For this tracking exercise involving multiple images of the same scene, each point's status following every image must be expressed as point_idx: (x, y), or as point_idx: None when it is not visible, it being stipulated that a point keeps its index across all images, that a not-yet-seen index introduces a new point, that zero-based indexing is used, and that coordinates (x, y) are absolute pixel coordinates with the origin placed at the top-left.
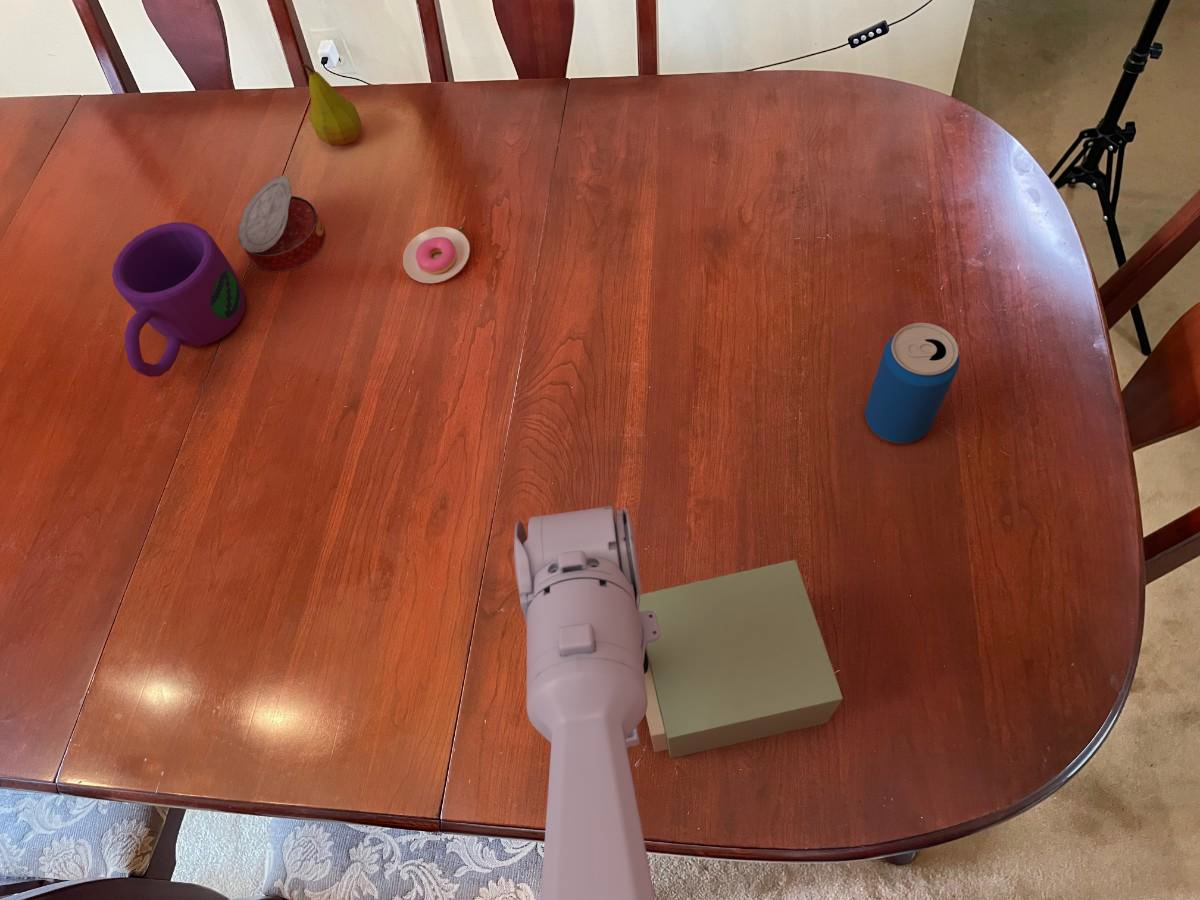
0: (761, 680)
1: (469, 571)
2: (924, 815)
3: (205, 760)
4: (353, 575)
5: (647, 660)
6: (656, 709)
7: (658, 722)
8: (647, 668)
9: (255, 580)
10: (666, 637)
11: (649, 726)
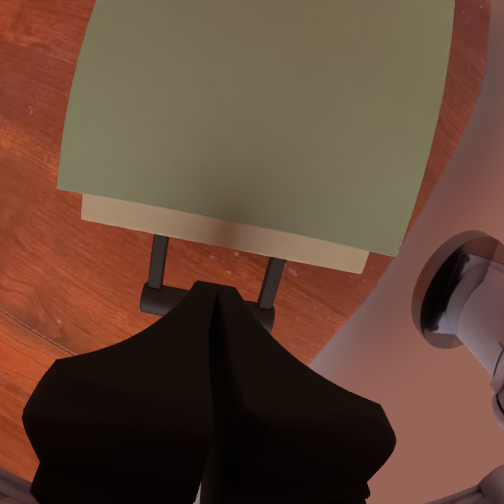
0: (386, 11)
1: (16, 333)
2: (480, 4)
3: None
4: (21, 410)
5: (365, 428)
6: (324, 243)
7: (349, 251)
8: (387, 422)
9: (29, 451)
10: (183, 153)
11: (344, 269)
